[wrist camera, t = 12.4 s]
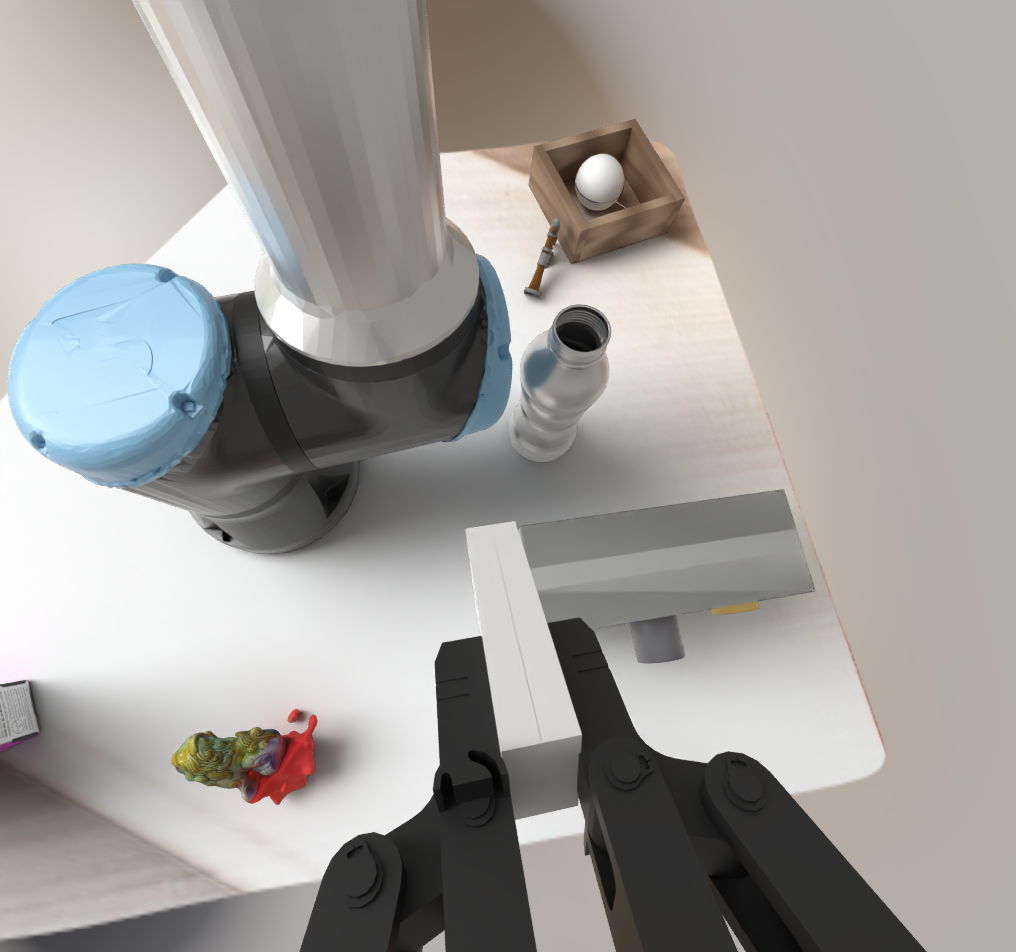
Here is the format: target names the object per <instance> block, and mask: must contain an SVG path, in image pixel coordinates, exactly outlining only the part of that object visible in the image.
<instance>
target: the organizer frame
mask: <svg viewBox="0 0 1016 952" xmlns="http://www.w3.org/2000/svg"><path fill="white" fill-rule="evenodd" d="M598 154H608V155H610V156H612V157H614V158H615V159H616V160H617V161H618V162H619V163H620V165H621V167H622V170H623V175H624V176H625V178H626V180H627V181H628V183H629V185H630V186H631V188H632V190H633V191H634V193H635V195H636V196H637V198H638V200H639V201H640V203H641V204H639V205H635V206H632V207H629V208H626V209H623V210H619V211H616V212H613V213H610V214H606V215H603V216H600V217H597V218H594V219H590V220H587V221H585V220H584V218H583V217H582V215H581V213H580V211H579V209H578V208H577V206H576V204H575V202H574V200H573V199H572V197H571V195H570V193H569V191H568V190H567V188H566V186H565V184H564V183H563V182H566V181H570V180H573V179H576V176H577V173H578V171H579V168H580V167H581V165H582V164H583V163H584V162H585V161H586V160H587V159H588V158H590V157H591V156H594V155H598ZM529 187H530V189H531V190H532V192H533V194H534V196H535V198H536V200H537V202H538V203H539V205H540V207H541V209H542V211H543V213H544V215H545V216H546V218H547V220H548V222H549V224H550V226H551V224H552V222H553V221H554V219H556V218H558V219H559V220H560V229H559V231H558V234H557V239H558V241H559V242H560V244H561V246H562V248H563V250H564V252H565V254H566V255H567V257H568V259H569V261H570V263H571V264H572V263H576V262H579V261H582V260H585V259H588V258H591V257H594V256H597V255H600V254H603V253H606V252H609V251H612V250H615V249H618V248H622V247H625V246H628V245H631V244H634V243H637V242H640V241H643V240H646V239H649V238H652V237H655V236H658V235H661V234H664V233H667V231H668V229H669V228H670V226H671V224H672V222H673V220H674V218H675V216H676V214H677V212H678V211H679V209H680V207H681V205H682V203H683V201H684V199H685V198H684V196H683V194H682V193H681V191H680V190H679V188H678V186H677V185H676V183H675V182H674V180H673V178H672V177H671V175H670V174H669V172H668V170H667V169H666V167H665V166H664V164H663V162H662V161H661V159H660V158H659V156H658V154H657V153H656V151H655V150H654V148H653V146H652V145H651V143H650V142H649V140H648V139H647V137H646V136H645V134H644V132H643V131H642V129H641V128H640V126H639V124H638V123H637V121H636V120H635V119H634V120H630V121H627V122H623V123H619V124H615V125H612V126H608V127H604V128H601V129H597V130H593V131H590V132H586V133H583V134H579V135H575V136H571V137H568V138H564V139H561V140H557V141H553V142H549V143H546V144H542V145H538V146H535V147H534V151H533V158H532V165H531V172H530V179H529Z"/></svg>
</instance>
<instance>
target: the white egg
mask: <svg viewBox="0 0 1016 952" xmlns="http://www.w3.org/2000/svg"><path fill="white" fill-rule="evenodd" d="M623 184H624V175H623V170H622V167H621V165H620V163H619V162H618V161H617V160H616V159H615V158H614V157H612V156H610V155H608V154H598V155H594V156H591V157H590V158H588V159H587V160H586V161H585V162H584V163H583V164H582V165H581V167H580V168H579V171H578V173H577V176H576V180H575V190H576V194H577V197H578V199H579V201H580V202H581V203H582V204H583V205H584V206H585V207H587V208H588V209H591V210H604V209H607V208H608V207H610V206H611V205H612V204H614V203H615V202H617V199H618V198H619V196H620V195H621V194H622V192H623V187H624V185H623ZM617 203H618V202H617ZM620 205H621V204H620ZM623 207H624V206H623ZM624 208H625V207H624Z"/></svg>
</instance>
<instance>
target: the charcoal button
mask: <svg viewBox="0 0 1016 952" xmlns="http://www.w3.org/2000/svg"><path fill="white" fill-rule="evenodd" d="M630 626H631V631H632V636H633V640H634V645H635V650H636V655H637V660H638V662H640V663H661V662H668V661H674V660H678V659H681V658H683V657H685V654H684V649H683V645H682V641H681V636H680V632H679V628H678V623H677V619H676V615H672V616H666V617H660V618H654V619H648V620H642V621H636V622H630Z"/></svg>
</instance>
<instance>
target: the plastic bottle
mask: <svg viewBox="0 0 1016 952" xmlns="http://www.w3.org/2000/svg"><path fill="white" fill-rule="evenodd" d="M610 337H611V327H610V324H609V321H608V320H607V318H606V317H605V316H604V314H603V313H601V312H600V311H599V310H597V309H595V308H594V307H591V306H588V305H571V306H569V307H566V308H565V309H563V310H562V311H560V312H559V313H558V315H557V316H556V318H555V319H554V322H553V325H552V326H551V328H550V330H548V331H545V332H543V333H542V334H540V335H538V336H537V337H536V338H535V339H534V340H533V341H532V342H531V343H530V344H529V345H528V347H527V348H526V350H525V351H524V353H523V356H522V358H521V364H520V379H521V389H522V390H521V399H520V401H519V404H518V405H517V406H516V408H515V409H514V411H513V412H512V414H511V416H510V419H509V423H508V433H509V437H510V440H511V443H512V445H513V447H514V448H515V450H516V451H517V452H518V453H519V454H520V455H521V456H523V457H525V458H526V459H529V460H531V461H535V462H548V461H552V460H555V459H557V458H558V457H560V456H562V455H563V454H564V453H566V452H567V451H568V450H569V449H570V447H571V446H572V444H573V442H574V439H575V436H576V431H577V423H578V420H579V419H580V417H581V416H582V414H583V413H584V412H585V411H586V410H587V409H588V408H589V407H590V406H591V405H592V404H594V403H595V402H596V401H597V399H598V398H599V397H600V396H601V395H602V393H603V391H604V390H605V388H606V386H607V383H608V378H609V363H608V358H607V355H606V353H605V350H606V346H607V345H608V343H609V340H610Z"/></svg>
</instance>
